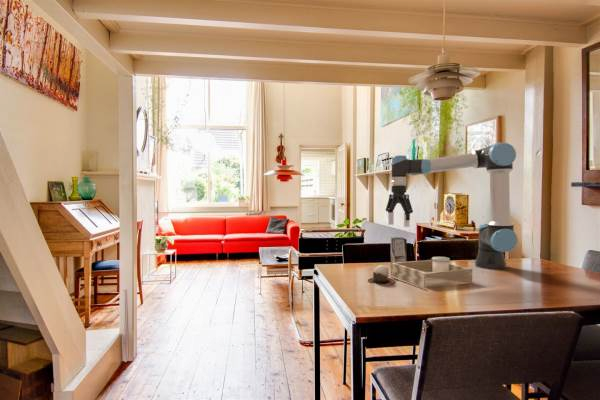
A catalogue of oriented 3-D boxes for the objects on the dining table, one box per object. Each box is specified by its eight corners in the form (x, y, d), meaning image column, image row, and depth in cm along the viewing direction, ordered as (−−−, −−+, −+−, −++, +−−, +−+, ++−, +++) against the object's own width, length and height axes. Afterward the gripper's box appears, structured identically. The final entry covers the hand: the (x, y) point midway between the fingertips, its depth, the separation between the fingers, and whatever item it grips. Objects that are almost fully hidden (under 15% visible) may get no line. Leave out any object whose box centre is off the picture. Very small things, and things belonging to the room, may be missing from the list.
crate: (390, 277, 173) (391, 263, 173) (433, 273, 182) (433, 259, 182) (425, 290, 150) (426, 273, 150) (472, 285, 159) (472, 269, 159)
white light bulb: (428, 276, 170) (428, 257, 170) (441, 275, 173) (441, 256, 173) (439, 280, 163) (439, 260, 163) (453, 278, 166) (453, 258, 166)
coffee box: (406, 270, 190) (407, 239, 190) (394, 270, 190) (394, 239, 190) (402, 266, 199) (402, 237, 199) (390, 266, 199) (390, 237, 199)
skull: (369, 275, 174) (384, 260, 171) (385, 291, 171) (401, 277, 168) (362, 279, 164) (377, 263, 161) (379, 297, 160) (395, 281, 157)
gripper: (379, 185, 204) (379, 223, 204) (407, 184, 181) (407, 227, 181) (391, 185, 207) (390, 223, 207) (420, 184, 183) (420, 227, 184)
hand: (398, 225), depth 194 cm, fingers open, 13 cm apart
